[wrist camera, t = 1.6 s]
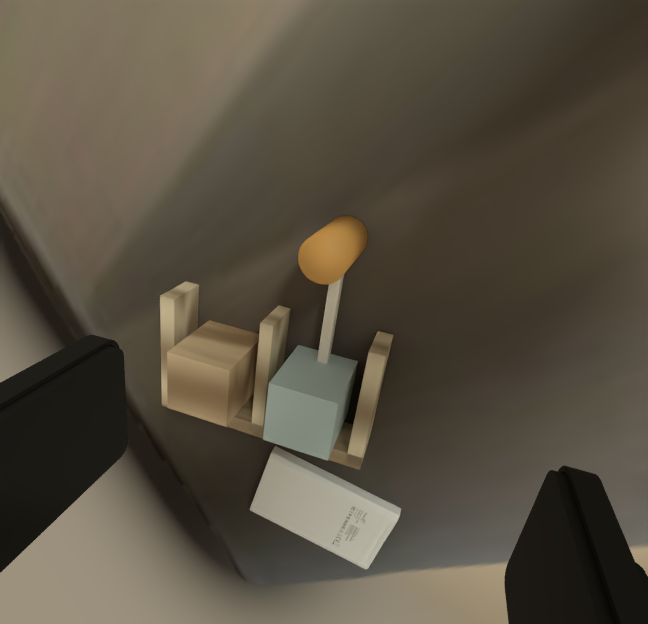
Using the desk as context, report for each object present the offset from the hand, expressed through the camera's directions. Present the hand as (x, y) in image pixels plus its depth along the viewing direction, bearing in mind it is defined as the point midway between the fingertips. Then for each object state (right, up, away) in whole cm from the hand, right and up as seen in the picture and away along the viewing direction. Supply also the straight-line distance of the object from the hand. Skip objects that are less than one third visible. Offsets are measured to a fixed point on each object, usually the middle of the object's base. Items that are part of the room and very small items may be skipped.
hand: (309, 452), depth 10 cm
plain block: (-7, -1, +29) cm, 30 cm away
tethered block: (+1, +2, +25) cm, 25 cm away
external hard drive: (0, -15, +33) cm, 36 cm away
